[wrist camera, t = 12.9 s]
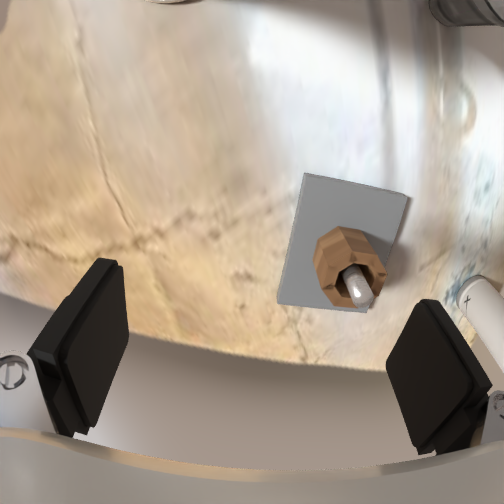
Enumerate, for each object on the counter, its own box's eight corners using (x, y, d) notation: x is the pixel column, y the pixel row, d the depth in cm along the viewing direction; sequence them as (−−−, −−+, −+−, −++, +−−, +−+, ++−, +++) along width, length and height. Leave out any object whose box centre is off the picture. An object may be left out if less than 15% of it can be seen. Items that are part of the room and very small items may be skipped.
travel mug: (448, 294, 41) (516, 394, 23) (480, 267, 39) (558, 356, 21) (460, 316, 43) (519, 410, 25) (490, 291, 41) (557, 376, 23)
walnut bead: (321, 223, 35) (333, 248, 29) (374, 232, 35) (393, 257, 30) (308, 273, 38) (316, 304, 32) (358, 280, 38) (372, 310, 33)
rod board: (304, 172, 34) (306, 176, 32) (402, 193, 34) (407, 197, 33) (276, 296, 41) (277, 303, 40) (363, 306, 42) (366, 313, 40)
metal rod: (335, 244, 36) (357, 288, 28) (352, 246, 36) (376, 291, 28) (331, 259, 37) (350, 306, 29) (347, 261, 37) (369, 308, 29)
